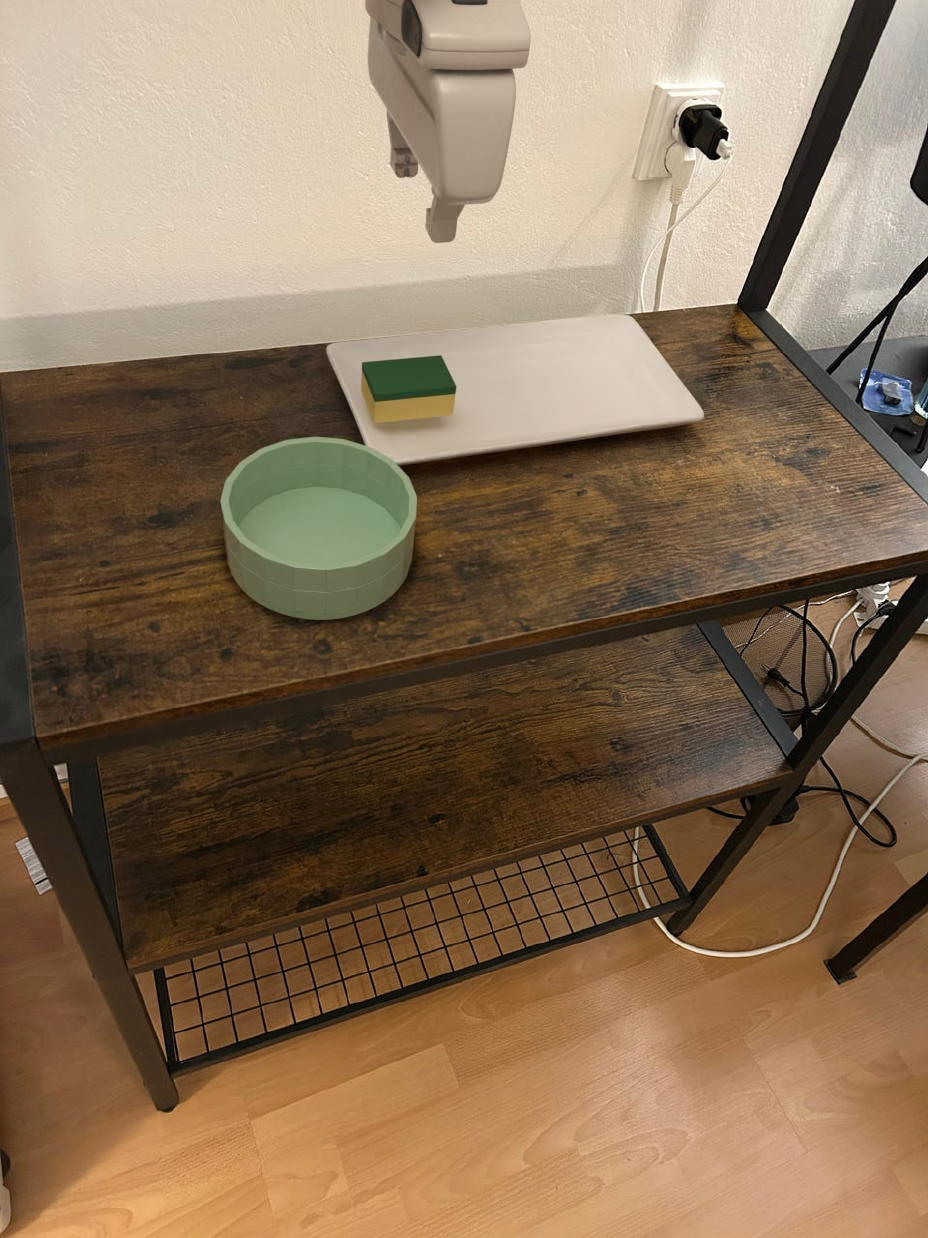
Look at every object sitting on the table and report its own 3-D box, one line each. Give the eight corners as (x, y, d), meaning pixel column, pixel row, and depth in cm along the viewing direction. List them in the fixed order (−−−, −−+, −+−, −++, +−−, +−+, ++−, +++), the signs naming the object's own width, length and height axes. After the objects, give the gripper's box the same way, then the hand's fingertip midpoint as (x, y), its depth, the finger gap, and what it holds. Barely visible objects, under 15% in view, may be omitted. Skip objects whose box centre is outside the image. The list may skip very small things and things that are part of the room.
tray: (700, 444, 90) (712, 414, 87) (372, 494, 80) (374, 461, 78) (623, 340, 99) (631, 310, 97) (322, 373, 90) (322, 341, 88)
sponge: (373, 423, 81) (374, 394, 79) (360, 391, 83) (361, 361, 81) (453, 415, 83) (456, 386, 80) (438, 383, 85) (441, 354, 83)
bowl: (243, 634, 69) (238, 582, 65) (214, 501, 78) (208, 447, 74) (433, 603, 73) (440, 552, 69) (385, 480, 82) (389, 427, 78)
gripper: (348, -72, 65) (345, 140, 75) (435, 49, 52) (416, 281, 63) (438, -68, 66) (423, 138, 77) (542, 49, 54) (507, 275, 65)
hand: (420, 204), depth 70 cm, fingers open, 8 cm apart
